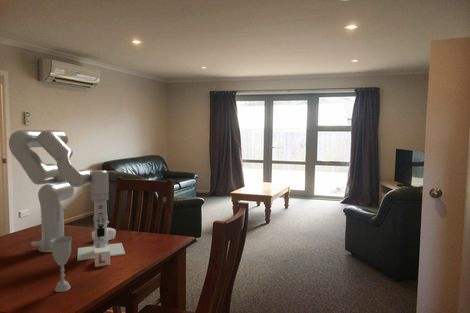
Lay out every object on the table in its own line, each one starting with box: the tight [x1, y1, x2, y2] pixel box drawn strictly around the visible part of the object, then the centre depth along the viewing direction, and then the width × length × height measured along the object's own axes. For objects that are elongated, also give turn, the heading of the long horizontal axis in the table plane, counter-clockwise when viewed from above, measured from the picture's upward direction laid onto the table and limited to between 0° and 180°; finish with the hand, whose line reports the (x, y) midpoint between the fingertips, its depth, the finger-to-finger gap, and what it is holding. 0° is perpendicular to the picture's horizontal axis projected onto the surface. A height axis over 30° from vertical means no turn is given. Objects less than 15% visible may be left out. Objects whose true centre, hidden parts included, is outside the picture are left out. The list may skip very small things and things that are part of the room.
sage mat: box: [76, 242, 126, 262], centre depth 157 cm, size 20×16×1 cm
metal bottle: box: [92, 206, 109, 248], centre depth 156 cm, size 6×7×20 cm
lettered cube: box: [94, 247, 111, 268], centre depth 143 cm, size 6×6×6 cm
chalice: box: [51, 235, 73, 293], centre depth 119 cm, size 7×7×18 cm
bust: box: [91, 220, 117, 242], centre depth 175 cm, size 12×8×11 cm
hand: (100, 234), depth 157 cm, fingers closed on metal bottle, 5 cm apart
